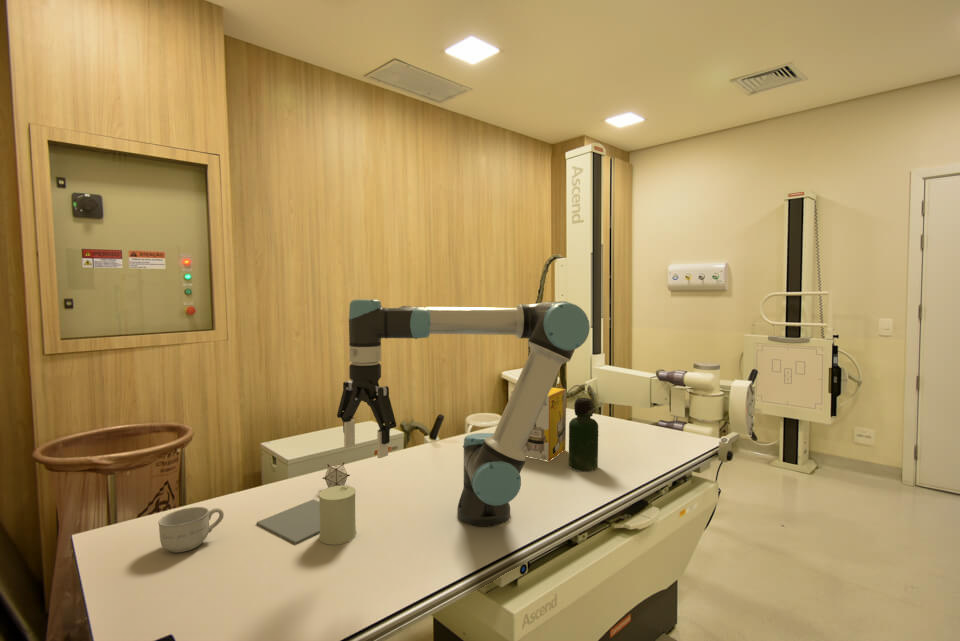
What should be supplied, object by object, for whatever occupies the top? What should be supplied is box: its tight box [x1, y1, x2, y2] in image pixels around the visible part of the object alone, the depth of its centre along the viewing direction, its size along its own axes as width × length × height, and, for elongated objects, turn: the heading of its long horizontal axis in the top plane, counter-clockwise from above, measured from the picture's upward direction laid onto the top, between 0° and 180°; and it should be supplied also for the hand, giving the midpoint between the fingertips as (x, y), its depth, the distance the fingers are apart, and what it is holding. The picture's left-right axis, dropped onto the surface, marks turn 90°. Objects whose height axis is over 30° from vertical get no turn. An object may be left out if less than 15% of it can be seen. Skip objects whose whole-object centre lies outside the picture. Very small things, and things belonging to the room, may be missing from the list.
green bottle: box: [568, 397, 599, 472], centre depth 174 cm, size 10×10×25 cm
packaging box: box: [510, 387, 567, 462], centre depth 190 cm, size 16×16×25 cm
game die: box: [321, 462, 351, 488], centre depth 154 cm, size 9×8×10 cm
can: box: [318, 485, 357, 546], centre depth 124 cm, size 9×9×12 cm
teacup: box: [157, 506, 225, 553], centre depth 120 cm, size 14×11×8 cm
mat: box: [256, 498, 320, 545], centre depth 132 cm, size 18×18×1 cm
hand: (365, 451), depth 117 cm, fingers open, 11 cm apart
